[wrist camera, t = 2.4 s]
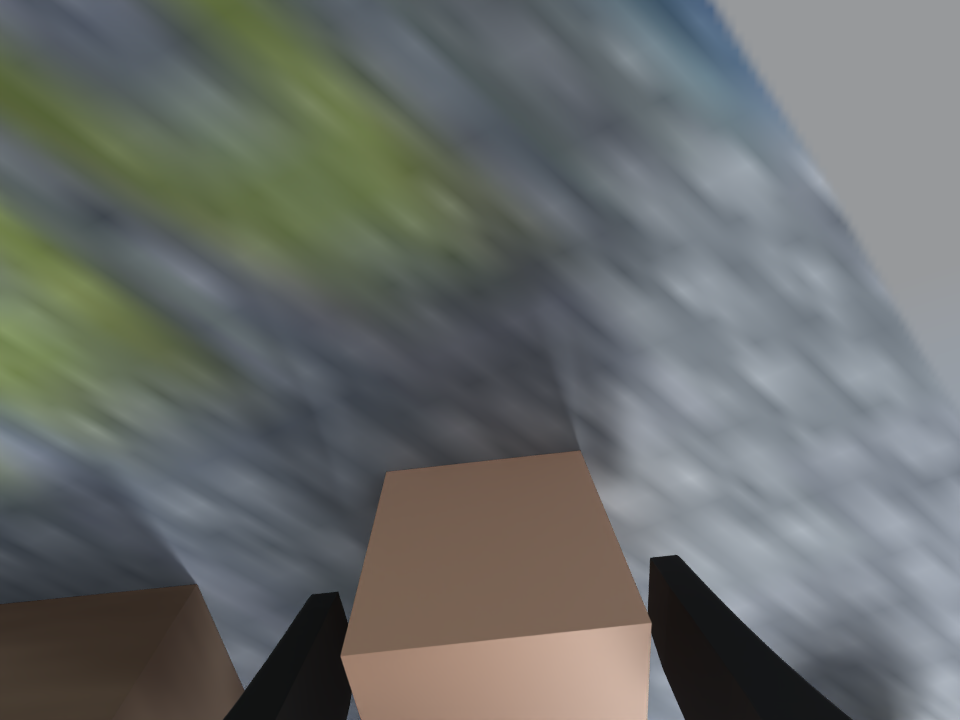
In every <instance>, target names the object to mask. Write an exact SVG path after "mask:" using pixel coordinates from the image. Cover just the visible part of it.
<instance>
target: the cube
mask: <svg viewBox="0 0 960 720" xmlns="http://www.w3.org/2000/svg"><path fill="white" fill-rule="evenodd" d="M651 626H652V623H651V620H650V618H649V615H648V613H647V610H646V608H645V606H644V603H643V601H642V598H641V596H640V594H639V591H638V589H637V586H636V584H635V582H634V579H633V577H632V574H631V572H630V569H629V567H628V565H627V562H626V560H625V557H624V555H623V553H622V550H621V548H620V545H619V543H618V540H617V538H616V536H615V533H614V531H613V528H612V526H611V524H610V521H609V519H608V516H607V514H606V512H605V509H604V507H603V504H602V502H601V499H600V497H599V495H598V492H597V490H596V487H595V485H594V483H593V480H592V478H591V475H590V473H589V470H588V468H587V466H586V463H585V461H584V458H583V456H582V454H581V451H571V452H562V453H553V454H544V455H535V456H525V457H516V458H507V459H498V460H489V461H480V462H471V463H462V464H453V465H444V466H435V467H426V468H417V469H408V470H399V471H390V472H386V475H385V479H384V483H383V487H382V491H381V495H380V499H379V503H378V508H377V512H376V516H375V520H374V524H373V528H372V532H371V536H370V540H369V544H368V548H367V552H366V556H365V560H364V564H363V568H362V572H361V576H360V580H359V584H358V588H357V592H356V596H355V600H354V604H353V608H352V612H351V616H350V620H349V624H348V628H347V632H346V636H345V640H344V644H343V648H342V652H341V659H342V662H343V666H344V669H345V672H346V675H347V678H348V681H349V684H350V687H351V690H352V693H353V696H354V699H355V703H356V706H357V709H358V712H359V715H360V718H361V720H647V712H648V690H649V669H650V648H651Z"/></svg>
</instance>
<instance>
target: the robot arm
mask: <svg viewBox="0 0 960 720" xmlns="http://www.w3.org/2000/svg"><path fill="white" fill-rule="evenodd" d="M648 615H649V618H650V620H651V623H652V626H651V634H652V637H653V640H654V643H655V646H656V649H657V652H658V655H659V658H660V661H661V664H662V667H663V670H664V673H665V675H666V677H667V679H668V682H669V684H670V686H671V689H672V691H673V693H674V696H675V698H676V700H677V702H678V705H679V707H680V709H681V712H682V714H683V716H684V718H685V720H852V719H851V718H850V717H849V716H847V715H846V714H845V713H844V712H842V711H841V710H840V709H839V708H837V707H836V706H835V705H834V704H833V703H831V702H830V701H829V700H828V699H827V698H825V697H824V696H823V695H822V694H821V693H820V692H818V691H817V690H816V689H815V688H814V687H813V686H811V685H810V684H809V683H808V682H807V681H806V680H805V679H804V678H802V677H801V676H800V675H799V674H798V673H797V672H796V671H795V670H793V669H792V668H791V667H790V666H789V665H788V664H787V663H786V662H784V661H783V660H782V659H781V658H780V657H779V656H778V655H777V654H776V653H775V652H774V651H772V650H771V649H770V648H769V647H768V646H767V645H766V644H765V643H764V642H763V641H762V640H761V639H760V638H759V637H758V636H757V635H756V634H755V633H754V632H753V631H751V630H750V629H749V628H748V627H747V626H746V625H745V624H744V623H743V622H742V621H741V620H740V619H739V618H738V617H737V616H736V615H735V614H734V613H733V612H732V611H731V610H730V609H729V608H728V607H727V606H726V605H725V604H724V603H723V602H722V601H721V600H720V599H719V598H718V597H717V596H716V595H715V594H714V593H713V592H712V591H711V590H710V588H709V587H708V586H707V585H706V584H705V583H704V582H703V581H702V580H701V579H700V578H699V577H698V576H697V575H696V574H695V573H694V572H693V571H692V569H691V568H690V567H689V566H688V565H687V564H686V563H685V562H684V561H683V560H682V559H681V558H680V557H679V556H678V555H672V556H662V557H653V558H650V574H649V597H648ZM347 628H348V622H347V619H346V616H345V612H344V609H343V606H342V602H341V599H340V596H339V593H338V592H331V593H321V594H312V595H311V596H310V598H309V599H308V600H307V602H306V603H305V605H304V606H303V607H302V609H301V610H300V612H299V613H298V615H297V616H296V618H295V619H294V621H293V622H292V624H291V625H290V627H289V628H288V630H287V631H286V633H285V634H284V636H283V637H282V639H281V640H280V642H279V643H278V644H277V646H276V647H275V649H274V650H273V652H272V653H271V655H270V656H269V658H268V659H267V660H266V662H265V663H264V665H263V666H262V667H261V669H260V670H259V671H258V673H257V674H256V676H255V677H254V678H253V680H252V681H251V683H250V684H249V685H248V687H247V688H246V690H245V691H244V692H243V694H242V695H241V696H240V698H239V699H238V700H237V702H236V703H235V704H234V706H233V707H232V708H231V710H230V711H229V712H228V714H227V715H226V716H225V717H224V719H223V720H346V719H347V715H348V710H349V706H350V700H351V693H352V690H351V687H350V684H349V681H348V678H347V675H346V672H345V669H344V666H343V662H342V659H341V652H342V648H343V644H344V640H345V636H346V632H347Z"/></svg>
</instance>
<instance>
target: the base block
mask: <svg viewBox="0 0 960 720" xmlns="http://www.w3.org/2000/svg"><path fill="white" fill-rule="evenodd" d="M243 692H244V689H243V686H242V684H241V682H240V680H239V677H238V675H237V673H236V671H235V668H234V666H233V664H232V662H231V659H230V657H229V655H228V653H227V650H226V648H225V646H224V644H223V641H222V639H221V637H220V635H219V632H218V630H217V628H216V626H215V623H214V621H213V619H212V617H211V614H210V612H209V610H208V608H207V605H206V603H205V601H204V599H203V596H202V594H201V592H200V590H199V587H198V585H197V584H193V585H184V586H174V587H164V588H154V589H144V590H135V591H125V592H115V593H105V594H96V595H86V596H76V597H66V598H56V599H47V600H37V601H27V602H17V603H7V604H0V720H223V719H224V717H225V716H226V715H227V714H228V712H229V711H230V710H231V708H232V707H233V706H234V704H235V703H236V702H237V700H238V699H239V698H240V696H241V695H242V694H243Z"/></svg>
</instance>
